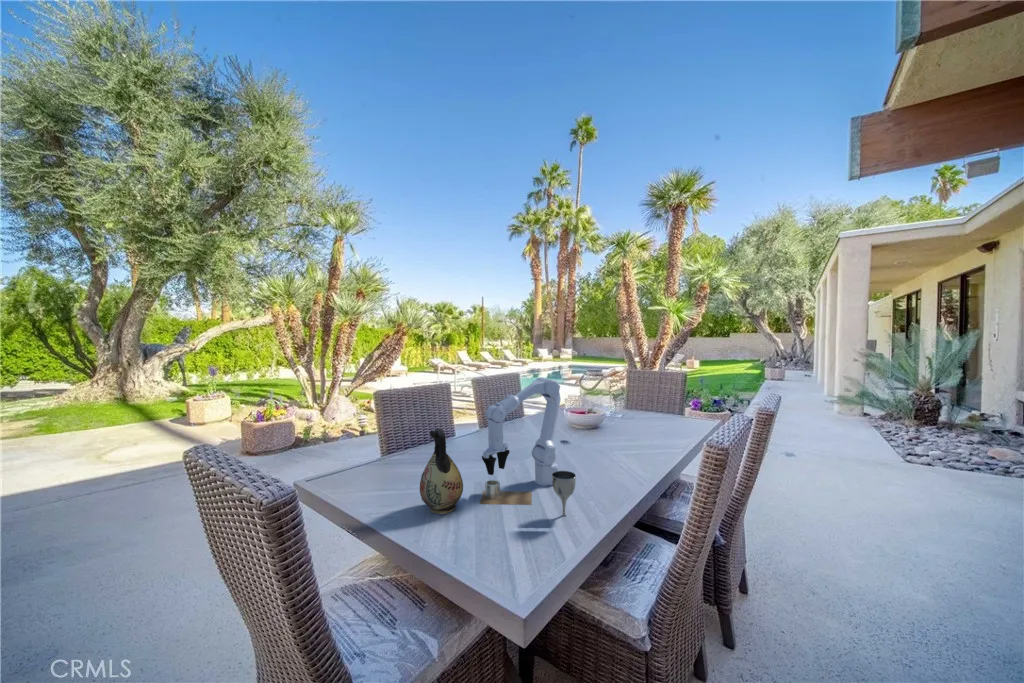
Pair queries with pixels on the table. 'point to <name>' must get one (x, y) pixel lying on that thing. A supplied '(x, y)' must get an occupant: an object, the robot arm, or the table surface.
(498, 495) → the steel collar
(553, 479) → the wine glass
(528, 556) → the table surface
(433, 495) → the ceramic jug
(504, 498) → the walnut board
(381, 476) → the table surface
